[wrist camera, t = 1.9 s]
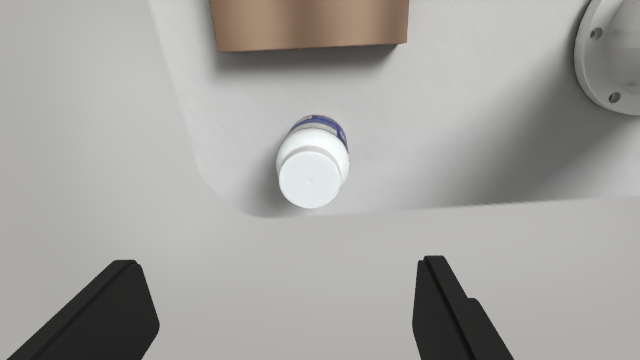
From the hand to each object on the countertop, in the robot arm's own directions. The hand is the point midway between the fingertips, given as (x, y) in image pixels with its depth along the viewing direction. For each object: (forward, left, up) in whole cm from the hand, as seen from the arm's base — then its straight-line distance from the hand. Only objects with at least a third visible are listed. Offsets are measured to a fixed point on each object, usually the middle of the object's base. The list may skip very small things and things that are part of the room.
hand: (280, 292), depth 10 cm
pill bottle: (0, 0, -20) cm, 20 cm away
